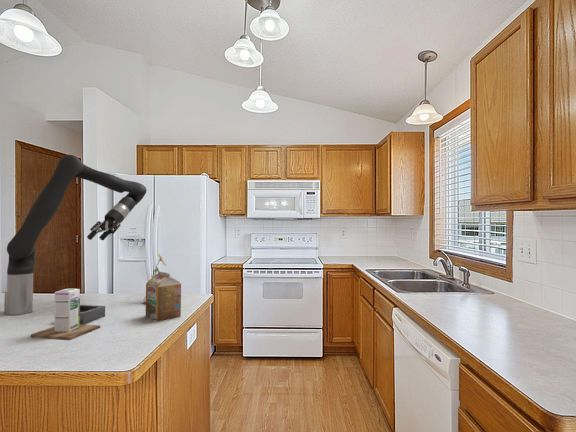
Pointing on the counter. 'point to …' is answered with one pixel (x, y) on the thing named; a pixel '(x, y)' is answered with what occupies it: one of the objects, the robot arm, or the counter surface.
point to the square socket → (91, 313)
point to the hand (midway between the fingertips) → (94, 238)
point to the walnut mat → (65, 335)
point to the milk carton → (163, 297)
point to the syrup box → (67, 310)
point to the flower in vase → (156, 270)
